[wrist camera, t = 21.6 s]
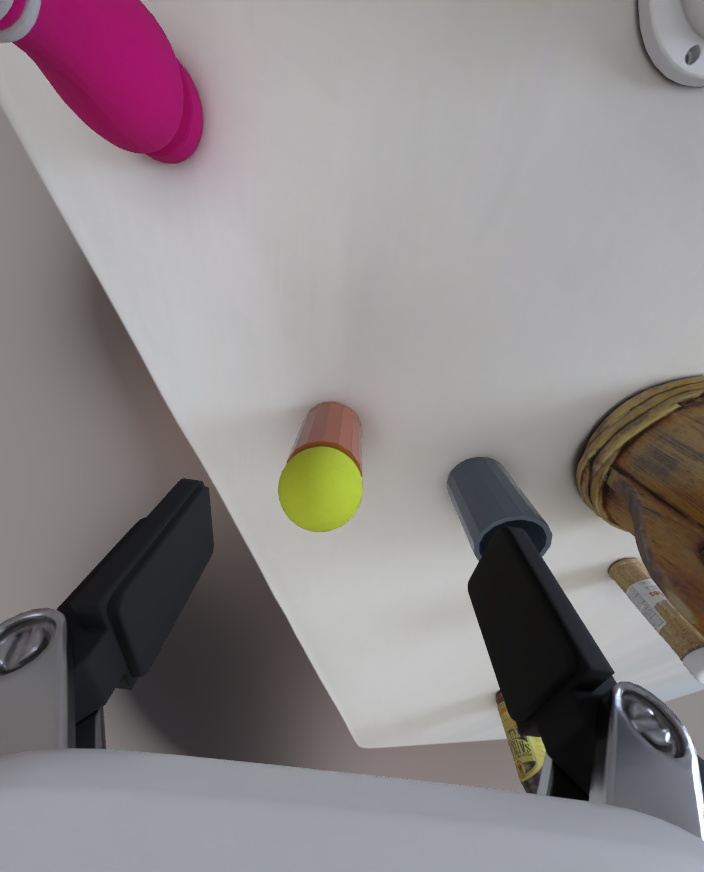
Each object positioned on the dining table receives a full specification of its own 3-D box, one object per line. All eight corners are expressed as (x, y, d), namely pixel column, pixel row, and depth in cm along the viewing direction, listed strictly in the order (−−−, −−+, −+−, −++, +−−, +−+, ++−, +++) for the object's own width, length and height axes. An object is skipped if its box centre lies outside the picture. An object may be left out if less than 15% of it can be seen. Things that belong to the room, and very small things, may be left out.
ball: (355, 426, 25) (353, 472, 19) (368, 489, 29) (369, 546, 23) (279, 438, 26) (254, 485, 20) (299, 498, 29) (283, 555, 23)
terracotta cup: (355, 397, 32) (354, 435, 24) (365, 449, 35) (367, 499, 27) (296, 407, 33) (276, 447, 25) (310, 457, 36) (297, 508, 28)
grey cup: (506, 453, 35) (556, 511, 26) (503, 499, 38) (547, 566, 29) (445, 461, 36) (474, 521, 27) (447, 506, 39) (474, 573, 30)
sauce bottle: (503, 684, 59) (565, 856, 41) (532, 690, 60) (604, 861, 42) (487, 699, 62) (538, 866, 44) (514, 704, 63) (575, 870, 45)
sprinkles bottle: (646, 556, 42) (759, 665, 30) (634, 577, 44) (736, 687, 32) (612, 557, 42) (711, 665, 30) (602, 578, 44) (691, 688, 33)
